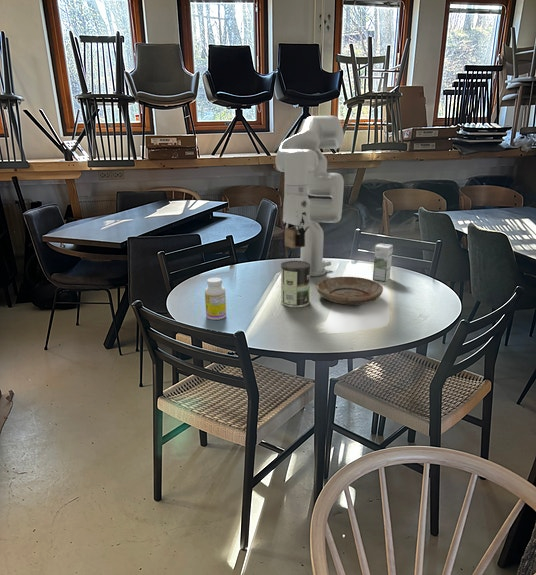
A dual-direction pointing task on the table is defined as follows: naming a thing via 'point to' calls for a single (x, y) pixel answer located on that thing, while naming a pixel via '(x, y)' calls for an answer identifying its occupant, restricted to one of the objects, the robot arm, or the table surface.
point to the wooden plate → (349, 290)
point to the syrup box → (382, 262)
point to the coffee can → (295, 283)
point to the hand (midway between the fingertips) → (295, 243)
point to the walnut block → (291, 237)
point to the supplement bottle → (215, 299)
